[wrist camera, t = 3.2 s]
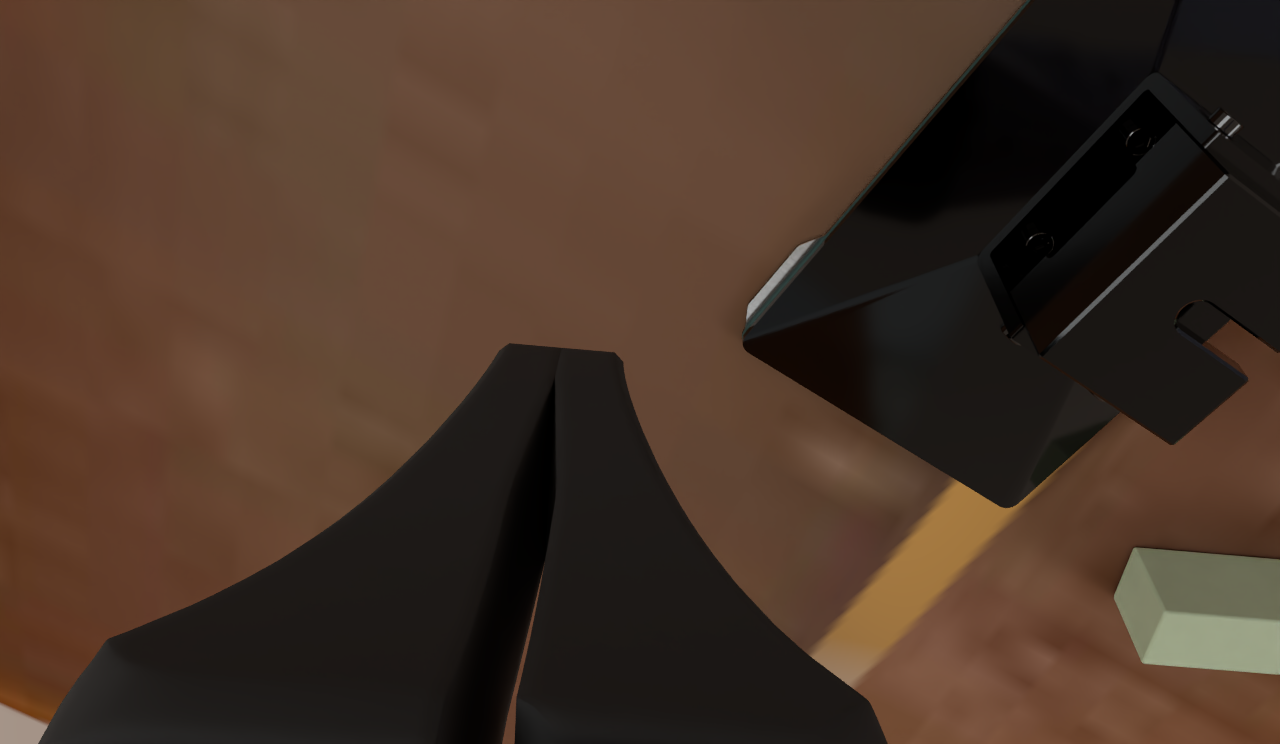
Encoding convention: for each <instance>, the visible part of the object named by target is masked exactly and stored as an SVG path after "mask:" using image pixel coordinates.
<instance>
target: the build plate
mask: <svg viewBox="0 0 1280 744" xmlns="http://www.w3.org/2000/svg"><path fill="white" fill-rule="evenodd" d="M1230 320H1233V321H1234V322H1235V323H1237V324H1238V325H1240V326H1241V327H1242V328H1244V329H1245V330H1247V331H1248V332H1249V333H1251V334H1252V335H1253V336H1255V337H1256V338H1258V339H1259V340H1260V341H1262V342H1263V343H1264V344H1266V345H1267V346H1269V347H1270V348H1271V349H1273V350H1274V351H1275V352H1277V353H1280V0H1026V1H1025V2H1024V3H1023V4H1022V5H1021V6H1020V8H1019V9H1018V10H1017V11H1016V12H1015V13H1014V15H1013V16H1012V17H1011V18H1010V19H1009V20H1008V22H1007V23H1006V24H1005V25H1004V26H1003V27H1002V29H1001V30H1000V31H999V32H998V33H997V34H996V36H995V37H994V38H993V39H992V40H991V41H990V43H989V44H988V45H987V46H986V47H985V48H984V50H983V51H982V52H981V53H980V54H979V55H978V57H977V58H976V59H975V60H974V61H973V62H972V64H971V65H970V66H969V67H968V68H967V69H966V71H965V72H964V73H963V74H962V75H961V76H960V78H959V79H958V80H957V81H956V82H955V83H954V85H953V86H952V87H951V88H950V89H949V90H948V92H947V93H946V94H945V95H944V96H943V97H942V99H941V100H940V101H939V102H938V103H937V104H936V106H935V107H934V108H933V109H932V110H931V111H930V113H929V114H928V115H927V116H926V117H925V118H924V120H923V121H922V122H921V123H920V124H919V125H918V127H917V128H916V129H915V130H914V131H913V132H912V134H911V135H910V136H909V137H908V138H907V139H906V141H905V142H904V143H903V144H902V145H901V146H900V148H899V149H898V150H897V151H896V152H895V153H894V155H893V156H892V157H891V158H890V159H889V160H888V162H887V163H886V164H885V165H884V166H883V167H882V169H881V170H880V171H879V172H878V173H877V174H876V176H875V177H874V178H873V179H872V180H871V181H870V183H869V184H868V185H867V186H866V187H865V188H864V190H863V191H862V192H861V193H860V194H859V195H858V197H857V198H856V199H855V200H854V201H853V202H852V204H851V205H850V206H849V207H848V208H847V209H846V211H845V212H844V213H843V214H842V215H841V216H840V218H839V219H838V220H837V221H836V222H835V223H834V225H833V226H832V227H831V228H830V229H829V230H828V232H827V233H825V234H824V235H822V236H819V237H817V238H814V239H812V240H809V241H806V242H804V243H801V244H799V245H798V246H797V247H796V248H795V249H794V250H793V251H792V253H791V254H790V255H789V256H788V257H787V258H786V260H785V261H784V262H783V263H782V264H781V266H780V267H779V268H778V269H777V270H776V271H775V273H774V274H773V275H772V276H771V277H770V278H769V280H768V281H767V282H766V283H765V284H764V286H763V287H762V288H761V289H760V290H759V291H758V293H757V294H756V295H755V296H754V297H753V299H752V300H751V301H750V302H749V304H748V307H747V315H746V323H745V328H744V330H743V333H742V340H743V347H744V349H745V350H746V351H747V352H748V353H750V354H751V355H753V356H755V357H756V358H758V359H759V360H761V361H763V362H764V363H766V364H768V365H769V366H771V367H773V368H774V369H776V370H777V371H779V372H781V373H782V374H784V375H786V376H787V377H789V378H791V379H792V380H794V381H795V382H797V383H799V384H800V385H802V386H804V387H805V388H807V389H809V390H810V391H812V392H813V393H815V394H817V395H818V396H820V397H822V398H823V399H825V400H827V401H828V402H830V403H831V404H833V405H835V406H836V407H838V408H840V409H841V410H843V411H845V412H846V413H848V414H849V415H851V416H853V417H854V418H856V419H858V420H859V421H861V422H863V423H864V424H866V425H867V426H869V427H871V428H872V429H874V430H876V431H877V432H879V433H881V434H882V435H884V436H885V437H887V438H889V439H890V440H892V441H894V442H895V443H897V444H899V445H900V446H902V447H903V448H905V449H907V450H908V451H910V452H912V453H913V454H915V455H917V456H918V457H920V458H921V459H923V460H925V461H926V462H928V463H930V464H931V465H933V466H935V467H936V468H938V469H939V470H941V471H943V472H944V473H946V474H948V475H949V476H951V477H953V478H954V479H956V480H957V481H959V482H961V483H962V484H964V485H966V486H967V487H969V488H971V489H972V490H974V491H975V492H977V493H979V494H980V495H982V496H984V497H985V498H987V499H989V500H990V501H992V502H993V503H995V504H997V505H998V506H1000V507H1003V508H1010V507H1013V506H1015V505H1017V504H1018V503H1019V502H1020V501H1021V500H1023V499H1024V498H1025V497H1026V496H1027V495H1028V494H1029V493H1030V492H1032V491H1033V490H1034V489H1035V488H1036V487H1037V486H1038V485H1039V484H1040V483H1042V482H1043V481H1044V480H1045V479H1046V478H1047V477H1048V476H1049V475H1050V474H1052V473H1053V472H1054V471H1055V470H1056V469H1057V468H1058V467H1059V466H1061V465H1062V464H1063V463H1064V462H1065V461H1066V460H1067V459H1068V458H1069V457H1071V456H1072V455H1073V454H1074V453H1075V452H1076V451H1077V450H1078V449H1079V448H1081V447H1082V446H1083V445H1084V444H1085V443H1086V442H1087V441H1088V440H1090V439H1091V438H1092V437H1093V436H1094V435H1095V434H1096V433H1097V432H1098V431H1100V430H1101V429H1102V428H1103V427H1104V426H1105V425H1106V424H1107V423H1109V422H1110V421H1111V420H1112V419H1113V418H1114V417H1115V416H1116V415H1117V414H1119V413H1120V412H1122V413H1123V414H1125V415H1126V416H1128V417H1129V418H1131V419H1132V420H1134V421H1135V422H1137V423H1138V424H1140V425H1141V426H1143V427H1144V428H1146V429H1147V430H1149V431H1150V432H1152V433H1153V434H1155V435H1156V436H1158V437H1159V438H1161V439H1162V440H1164V441H1165V442H1167V443H1168V444H1170V445H1175V444H1176V443H1177V442H1178V441H1179V440H1180V439H1182V438H1183V437H1184V436H1185V435H1186V434H1187V433H1189V432H1190V431H1191V430H1192V429H1193V428H1194V427H1196V426H1197V425H1198V424H1199V423H1200V422H1201V421H1203V420H1204V419H1205V418H1206V417H1207V416H1208V415H1210V414H1211V413H1212V412H1213V411H1214V410H1215V409H1217V408H1218V407H1219V406H1220V405H1221V404H1222V403H1224V402H1225V401H1226V400H1227V399H1228V398H1229V397H1231V396H1232V395H1233V394H1234V393H1235V392H1236V391H1238V390H1239V389H1240V388H1241V387H1242V386H1243V385H1245V384H1246V383H1247V382H1248V377H1247V375H1246V374H1245V373H1244V371H1243V370H1242V369H1241V367H1240V366H1239V364H1238V363H1236V362H1235V361H1233V360H1232V359H1230V358H1229V357H1228V356H1226V355H1225V354H1223V353H1222V352H1221V351H1219V350H1218V349H1216V348H1215V347H1214V346H1212V345H1211V344H1209V343H1208V342H1207V341H1208V340H1209V339H1210V338H1211V337H1212V336H1213V335H1215V334H1216V333H1217V332H1218V331H1219V330H1220V329H1221V328H1222V327H1224V326H1225V325H1226V324H1227V323H1228V322H1229V321H1230Z"/></svg>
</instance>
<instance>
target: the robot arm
mask: <svg viewBox="0 0 1280 744" xmlns="http://www.w3.org/2000/svg"><path fill="white" fill-rule="evenodd" d="M544 563H545V564H544ZM543 567H544V570H543ZM542 571H543V575H542ZM541 575H542V581H541V586H540V592H539V597H538V602H537V607H536V612H535V617H534V622H533V627H532V632H531V637H530V642H529V646H528V651H527V655H526V660H525V664H524V668H523V673H522V677H521V682H520V686H519V690H518V694H517V700H516V724H515V744H887V741H886V739H885V736H884V734H883V731H882V729H881V727H880V724H879V722H878V720H877V717H876V715H875V713H874V710H873V708H872V706H871V704H870V703H869V701H868V700H867V699H866V698H865V697H863V696H862V695H861V694H859V693H858V692H857V691H855V690H854V689H853V688H851V687H850V686H849V685H847V684H846V683H845V682H843V681H842V680H841V679H839V678H838V677H837V676H835V675H834V674H833V673H831V672H830V671H829V670H827V669H826V668H825V667H823V666H822V665H821V664H819V663H818V662H817V661H815V660H814V659H813V658H811V657H810V656H809V655H808V654H807V653H805V652H804V651H803V650H802V649H801V648H800V647H798V646H797V645H796V644H795V643H794V642H793V641H792V640H791V639H790V638H789V637H787V636H786V635H785V634H784V633H783V632H782V631H781V630H780V629H779V628H777V627H776V626H775V625H774V624H773V623H772V621H771V620H770V619H769V618H768V617H767V616H766V615H765V614H764V613H763V612H762V611H761V610H760V609H759V608H758V607H757V605H756V604H755V603H754V602H753V601H752V600H751V599H750V598H749V597H748V596H747V595H746V594H745V593H744V592H743V590H742V589H741V588H740V587H739V586H738V585H737V584H736V583H735V581H734V580H733V579H732V578H731V576H730V575H729V574H728V573H727V571H726V570H725V569H724V568H723V566H722V565H721V564H720V563H719V561H718V560H717V559H716V557H715V556H714V555H713V553H712V552H711V551H710V549H709V548H708V546H707V545H706V544H705V542H704V541H703V539H702V538H701V537H700V535H699V534H698V532H697V531H696V529H695V528H694V526H693V525H692V523H691V522H690V520H689V519H688V517H687V515H686V514H685V512H684V511H683V509H682V507H681V506H680V504H679V502H678V500H677V499H676V497H675V495H674V493H673V492H672V490H671V488H670V486H669V485H668V483H667V481H666V479H665V477H664V475H663V473H662V471H661V469H660V467H659V465H658V463H657V461H656V459H655V457H654V455H653V453H652V450H651V448H650V446H649V444H648V442H647V439H646V437H645V435H644V433H643V431H642V428H641V426H640V423H639V421H638V418H637V415H636V412H635V410H634V407H633V404H632V401H631V398H630V395H629V391H628V388H627V384H626V380H625V374H624V367H623V361H622V360H621V359H620V358H619V357H618V356H617V355H616V353H614V352H603V351H591V350H580V349H568V348H557V347H545V346H534V345H522V344H511V343H509V344H508V345H506V346H505V347H504V348H502V349H501V350H500V351H499V352H498V354H497V355H496V357H495V359H494V360H493V362H492V363H491V364H490V366H489V367H488V369H487V370H486V372H485V373H484V374H483V376H482V377H481V378H480V380H479V381H478V382H477V384H476V385H475V386H474V388H473V389H472V390H471V391H470V393H469V394H468V395H467V396H466V398H465V399H464V400H463V401H462V403H461V404H460V405H459V406H458V407H457V408H456V410H455V411H454V412H453V413H452V414H451V415H450V416H449V417H448V419H447V420H446V421H445V422H444V423H443V424H442V425H441V427H440V428H439V429H438V430H437V431H436V432H435V433H434V435H433V436H432V437H431V438H430V439H429V440H428V441H427V442H426V443H425V444H424V445H423V446H422V447H421V448H420V449H419V450H418V451H417V452H416V453H415V454H414V455H413V456H412V457H411V458H410V459H409V460H408V461H407V462H406V463H405V464H404V465H403V466H402V467H401V468H400V469H398V470H397V471H396V472H395V473H394V474H393V475H392V476H391V477H390V478H389V479H388V480H387V481H386V482H385V483H383V484H382V485H381V486H380V487H379V488H378V489H377V490H375V491H374V492H373V493H372V494H371V495H370V496H368V497H367V498H366V499H365V500H364V501H362V502H361V503H360V504H359V505H357V506H356V507H355V508H354V509H352V510H351V511H350V512H349V513H347V514H346V515H345V516H343V517H342V518H341V519H340V520H338V521H337V522H336V523H334V524H333V525H331V526H330V527H328V528H327V529H326V530H324V531H323V532H321V533H320V534H318V535H317V536H316V537H314V538H313V539H311V540H309V541H308V542H306V543H305V544H303V545H302V546H300V547H299V548H297V549H296V550H294V551H293V552H291V553H289V554H288V555H286V556H285V557H283V558H282V559H280V560H278V561H277V562H275V563H273V564H271V565H270V566H268V567H266V568H264V569H262V570H261V571H259V572H257V573H255V574H253V575H252V576H250V577H248V578H246V579H244V580H242V581H240V582H238V583H236V584H234V585H232V586H230V587H228V588H226V589H224V590H222V591H220V592H218V593H216V594H214V595H212V596H210V597H208V598H206V599H204V600H202V601H200V602H197V603H195V604H193V605H191V606H189V607H186V608H184V609H181V610H179V611H177V612H174V613H172V614H169V615H167V616H164V617H162V618H160V619H157V620H155V621H152V622H150V623H147V624H145V625H143V626H140V627H138V628H135V629H133V630H130V631H128V632H125V633H123V634H120V635H117V636H114V637H112V638H109V639H108V640H107V641H106V642H105V643H104V644H103V646H102V647H101V649H100V650H99V652H98V653H97V654H96V656H95V657H94V659H93V660H92V661H91V663H90V664H89V665H88V667H87V668H86V669H85V670H84V672H83V673H82V674H81V675H80V677H79V678H78V679H77V681H76V682H75V684H74V685H73V687H72V688H71V690H70V691H69V692H68V694H67V695H66V697H65V698H64V700H63V701H62V703H61V704H60V706H59V708H58V709H57V711H56V713H55V715H54V717H53V718H52V720H51V722H50V724H49V725H48V727H47V729H46V731H45V733H44V734H43V736H42V738H41V740H40V742H39V743H38V744H502V741H503V736H504V731H505V725H506V720H507V715H508V711H509V707H510V703H511V699H512V695H513V691H514V687H515V683H516V678H517V674H518V670H519V666H520V662H521V658H522V654H523V650H524V646H525V642H526V637H527V633H528V629H529V625H530V621H531V617H532V613H533V609H534V604H535V600H536V596H537V592H538V588H539V584H540V580H541Z"/></svg>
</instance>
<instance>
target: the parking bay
mask: <svg viewBox="0 0 1280 744" xmlns="http://www.w3.org/2000/svg"><path fill="white" fill-rule="evenodd" d="M1114 600H1115V602H1116V604H1117V607H1118V609H1119V611H1120V613H1121V616H1122V618H1123V620H1124V623H1125V625H1126V627H1127V630H1128V632H1129V634H1130V636H1131V639H1132V641H1133V643H1134V646H1135V648H1136V650H1137V653H1138V655H1139V657H1140V659H1141V662H1142V663H1144V664H1154V665H1166V666H1178V667H1191V668H1203V669H1215V670H1227V671H1240V672H1252V673H1264V674H1276V675H1280V559H1269V558H1257V557H1245V556H1233V555H1222V554H1210V553H1198V552H1186V551H1174V550H1162V549H1150V548H1138V547H1135V548H1134V549H1133V551H1132V553H1131V555H1130V558H1129V560H1128V563H1127V565H1126V568H1125V570H1124V573H1123V575H1122V577H1121V580H1120V582H1119V585H1118V587H1117V590H1116V592H1115V595H1114Z"/></svg>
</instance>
